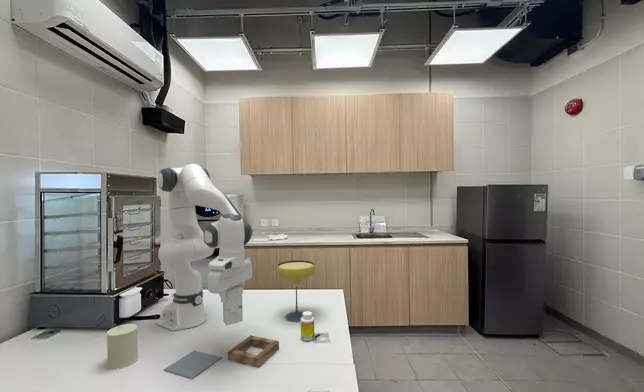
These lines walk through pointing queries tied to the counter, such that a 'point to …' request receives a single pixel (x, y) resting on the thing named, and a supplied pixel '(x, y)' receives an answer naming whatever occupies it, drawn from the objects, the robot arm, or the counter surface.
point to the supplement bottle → (307, 326)
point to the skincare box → (233, 306)
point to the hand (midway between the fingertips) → (232, 297)
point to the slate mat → (192, 364)
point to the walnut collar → (248, 358)
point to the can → (122, 346)
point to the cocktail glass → (295, 279)
